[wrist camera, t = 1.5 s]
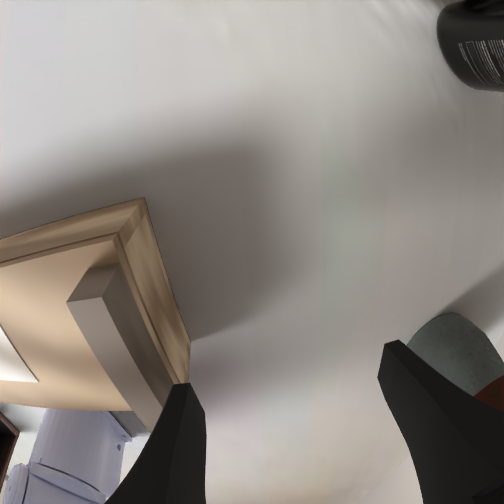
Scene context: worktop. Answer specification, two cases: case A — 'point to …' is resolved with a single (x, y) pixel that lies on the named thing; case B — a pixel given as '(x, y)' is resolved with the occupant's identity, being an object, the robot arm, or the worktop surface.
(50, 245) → the box
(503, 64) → the supplement bottle
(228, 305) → the worktop surface
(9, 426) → the letter holder
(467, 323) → the vodka
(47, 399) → the mailer lid
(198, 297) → the worktop surface
